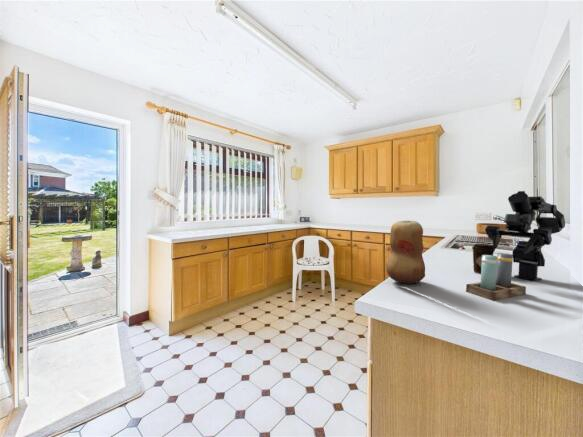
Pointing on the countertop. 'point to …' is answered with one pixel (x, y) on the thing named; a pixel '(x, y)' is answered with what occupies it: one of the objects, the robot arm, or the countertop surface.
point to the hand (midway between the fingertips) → (508, 251)
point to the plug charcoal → (504, 270)
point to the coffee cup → (480, 255)
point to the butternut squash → (406, 252)
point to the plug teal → (488, 272)
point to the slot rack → (499, 293)
